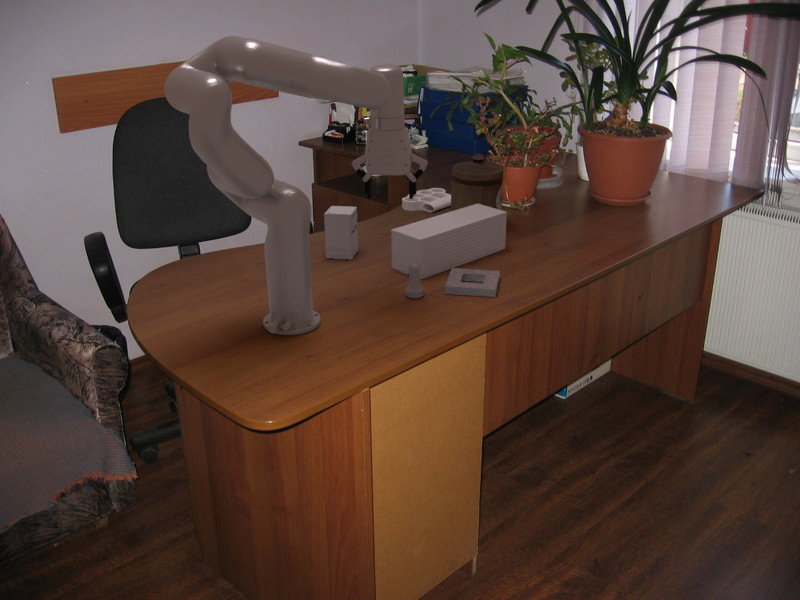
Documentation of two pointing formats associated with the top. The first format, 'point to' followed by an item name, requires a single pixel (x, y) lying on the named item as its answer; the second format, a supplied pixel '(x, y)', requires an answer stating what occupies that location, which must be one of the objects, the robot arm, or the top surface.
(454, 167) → the wooden container
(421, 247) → the long grey block
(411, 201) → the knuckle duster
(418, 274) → the rook chess piece
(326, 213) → the supplement box
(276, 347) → the top surface
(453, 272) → the socket plate
